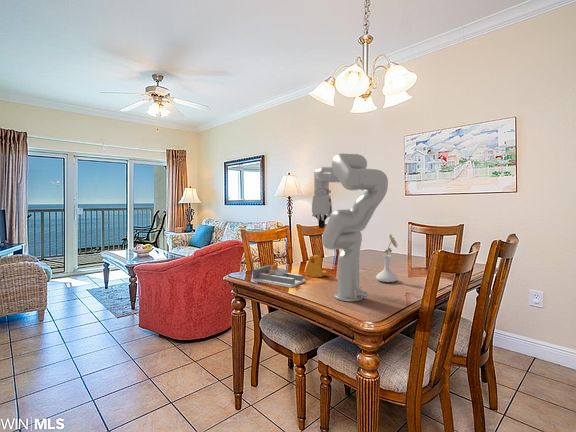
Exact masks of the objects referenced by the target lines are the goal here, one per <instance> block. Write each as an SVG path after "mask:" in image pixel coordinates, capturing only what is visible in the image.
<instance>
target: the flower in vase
mask: <svg viewBox="0 0 576 432" xmlns="http://www.w3.org/2000/svg"><path fill="white" fill-rule="evenodd" d="M388 236H389V237H388V238H389V239H390V242H389V245H388V247H387V249H385V250H384V253H386V254H382V255H381V256H382V258H383V261H384V268H383V269H382V271H380V272H378V273H377V274H376V275H375V278H376V280H378V281H379V282H384V283H393V282H396V281H398V280H399V278H398V276H397V275H396V274H395V273H394V272H393V271H392V270H391V269H390V260H391V258H392V257H393V256H392V254H389V253H392V252H393V251H392V248H390V246H391V244H392V245H393V246H394V247H395V248H398V246H399V245H398V244H397V241H396V239H395V237H393V235H392V234H389V235H388Z"/></svg>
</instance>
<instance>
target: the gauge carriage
mask: <svg viewBox="0 0 576 432" xmlns="http://www.w3.org/2000/svg"><path fill="white" fill-rule="evenodd" d="M270 265H271V270H270V273H267V275H270V274H271V275H277V276H283V277H288V273H289V269H286V268H280V267H279V266H278V263H273V264H270Z"/></svg>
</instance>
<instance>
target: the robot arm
mask: <svg viewBox="0 0 576 432" xmlns="http://www.w3.org/2000/svg"><path fill="white" fill-rule="evenodd" d="M367 167H368V161H367V159H366V157H364V155H362V154H357V153H342V152H341V153H338V154H336V155H334V156H333V159H332V161H331V166H326V167H325V166H322V167H319V168H318V169H315V170H314V172H313V176H314V178H313V179H314V181H313V184H314V186H313V187H314V189H313V190H314V191H313V193H314V195H313V196H312V202H311V203H312V204H311V215H312V217H314V218H316V220H317V221H318V228H319V229H324V230H323V232H322V235H321V236H322V237H321V238H322V239H321V242H322V245H323V247H324V248H325V249H327V250H340V252H339V253H338V256H337V292H335V293H334V295H333V296H334V298H335V299H336V300H338V301H342V302H360V301H362V300H363V299H364V298H369V293H368V291H364V290H363V289H362V287H360V259H361V257H360V254H361V253H360V251H361V247H362V240H363V235H362V231H364V230H365V229H366V227H367V226H368V223H369V222H370V220H371V219H372V217H373V215H374V213H375V211H376V209H377V208H378V206H379V205H380V204H381V203H382V202H383V200H384V198H385V196H386V195H387V192H388V188H389V180H388V179H389V178H388V177H387V174H386V173H385V172H384V171H382V170H380V169H375V168H367ZM330 183H340V184H341V186H342V187H343V188H344V189H345V190H348V191H364V192H363V193H362V194H360V195H359V196H358V197H357V199H355V201H354V204H353V206H352V207H350V208H347V209H337V210H335V211H333V203H332V196H331V195H330V194H331V193H332V190H330ZM328 218H329V219H328ZM327 219H328V221H327V223H326V220H327Z"/></svg>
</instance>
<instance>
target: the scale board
mask: <svg viewBox="0 0 576 432" xmlns="http://www.w3.org/2000/svg"><path fill="white" fill-rule="evenodd" d="M271 265H272V264H267V265H264V266H260V267H257V268H254V269H252V281H253V282H258V283H262V284H263V283H264V284H269V285H274V286H279V287H285V288H293V287H296V286H298V285H301V284H303V283H305V282H306V279H304V275H302V274H298V273H297V274H296V273H290V272H288V277H283V276H277V275H271V274H270V275H267V273H270V270H271Z"/></svg>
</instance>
